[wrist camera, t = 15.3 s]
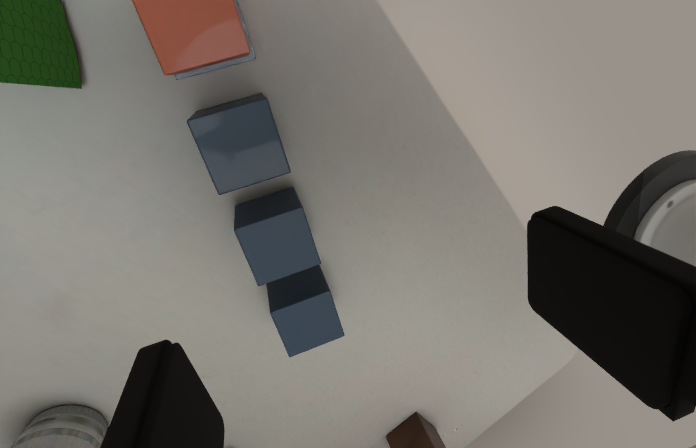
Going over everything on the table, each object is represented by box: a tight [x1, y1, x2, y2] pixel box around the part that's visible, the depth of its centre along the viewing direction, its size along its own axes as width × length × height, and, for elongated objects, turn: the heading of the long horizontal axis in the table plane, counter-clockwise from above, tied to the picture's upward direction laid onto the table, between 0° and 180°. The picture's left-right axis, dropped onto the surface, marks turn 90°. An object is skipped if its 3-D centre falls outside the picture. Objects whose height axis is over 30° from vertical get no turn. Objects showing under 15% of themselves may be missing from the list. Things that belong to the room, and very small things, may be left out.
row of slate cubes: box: [174, 0, 344, 357], centre depth 25 cm, size 5×26×5 cm, turn 14°
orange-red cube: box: [132, 0, 250, 75], centre depth 20 cm, size 5×5×5 cm
